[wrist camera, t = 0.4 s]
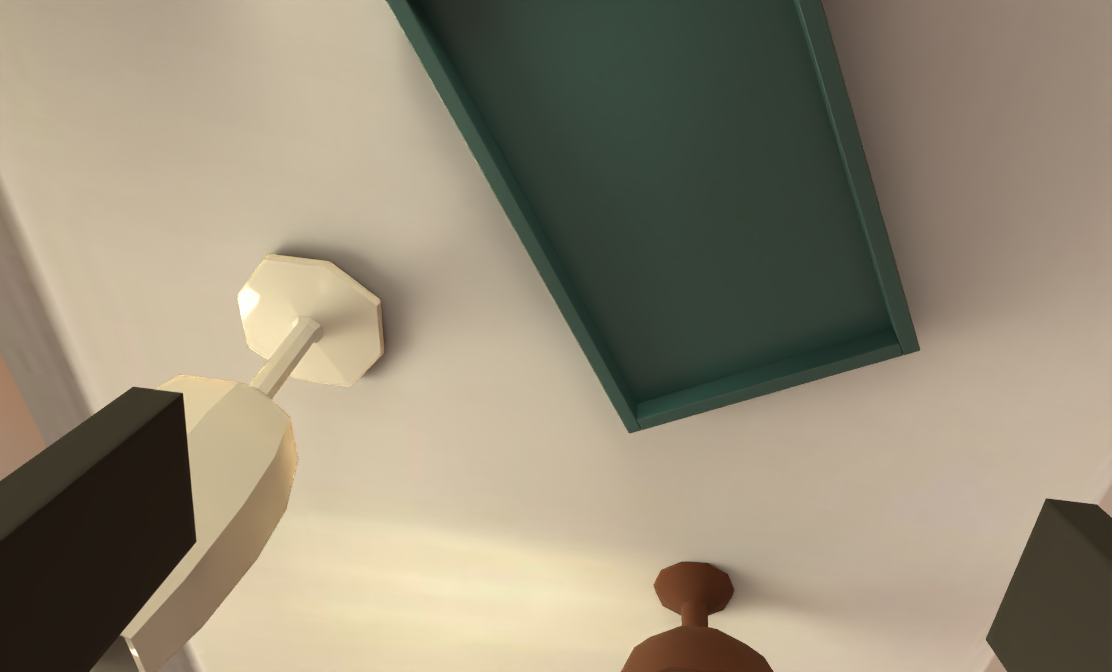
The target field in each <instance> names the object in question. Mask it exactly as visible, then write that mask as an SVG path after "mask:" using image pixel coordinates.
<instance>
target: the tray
mask: <svg viewBox="0 0 1112 672" xmlns="http://www.w3.org/2000/svg"><path fill="white" fill-rule="evenodd" d="M386 2H387V4H388V5H389V7H390V9H391V11H392V13H393V14H394V16H395V18H396V20H397V21H398V23H399V25H400V27H401V29H402V30H403V32H404V34H405V36H406V37H407V39H408V41H409V43H410V45H411V46H412V48H413V50H414V52H415V53H416V55H417V57H418V59H419V61H420V62H421V64H422V66H423V68H424V69H425V71H426V73H427V75H428V77H429V78H430V80H431V82H432V84H433V85H434V87H435V89H436V91H437V93H438V94H439V96H440V98H441V100H442V101H443V103H444V105H445V107H446V109H447V110H448V112H449V114H450V116H451V118H452V119H453V121H454V123H455V125H456V126H457V128H458V130H459V132H460V134H461V135H462V137H463V139H464V141H465V142H466V144H467V146H468V148H469V150H470V151H471V153H472V155H473V157H474V158H475V160H476V162H477V164H478V166H479V167H480V169H481V171H482V173H483V174H484V176H485V178H486V180H487V182H488V183H489V185H490V187H491V189H492V190H493V192H494V194H495V196H496V198H497V199H498V201H499V203H500V205H501V206H502V208H503V210H504V212H505V214H506V215H507V217H508V219H509V221H510V222H511V224H512V226H513V228H514V230H515V231H516V233H517V235H518V237H519V239H520V240H521V242H522V244H523V246H524V247H525V249H526V251H527V253H528V255H529V256H530V258H531V260H532V262H533V263H534V265H535V267H536V269H537V271H538V272H539V274H540V276H541V278H542V279H543V281H544V283H545V285H546V287H547V288H548V290H549V292H550V294H551V295H552V297H553V299H554V301H555V303H556V304H557V306H558V308H559V310H560V311H561V313H562V315H563V317H564V319H565V320H566V322H567V324H568V326H569V327H570V329H571V331H572V333H573V335H574V336H575V338H576V340H577V342H578V343H579V345H580V347H581V349H582V351H583V352H584V354H585V356H586V358H587V360H588V361H589V363H590V365H591V367H592V368H593V370H594V372H595V374H596V376H597V377H598V379H599V381H600V383H601V384H602V386H603V388H604V390H605V392H606V393H607V395H608V397H609V399H610V400H611V402H612V404H613V406H614V408H615V409H616V411H617V413H618V415H619V416H620V418H621V420H622V422H623V424H624V425H625V427H626V429H627V431H628V432H629V433H633V432H636V431H640V430H644V429H647V428H651V427H654V426H658V425H661V424H665V423H668V422H672V421H675V420H679V419H682V418H686V417H689V416H693V415H696V414H699V413H703V412H706V411H710V410H713V409H717V408H720V407H724V406H727V405H731V404H734V403H738V402H741V401H745V400H748V399H752V398H755V397H759V396H762V395H766V394H769V393H773V392H776V391H780V390H783V389H787V388H790V387H794V386H797V385H801V384H804V383H808V382H811V381H815V380H818V379H822V378H825V377H829V376H832V375H836V374H839V373H843V372H846V371H850V370H853V369H857V368H860V367H864V366H867V365H871V364H874V363H878V362H881V361H885V360H888V359H892V358H895V357H899V356H902V355H906V354H909V353H913V352H916V351H919V350H920V347H919V344H918V340H917V337H916V333H915V330H914V326H913V323H912V319H911V316H910V312H909V309H908V305H907V302H906V298H905V294H904V291H903V287H902V284H901V280H900V277H899V273H898V270H897V266H896V263H895V259H894V256H893V252H892V249H891V245H890V242H889V238H888V234H887V231H886V227H885V224H884V220H883V217H882V213H881V210H880V206H879V203H878V199H877V196H876V192H875V189H874V185H873V182H872V178H871V174H870V171H869V167H868V164H867V160H866V157H865V153H864V150H863V146H862V143H861V139H860V136H859V132H858V129H857V125H856V122H855V118H854V114H853V111H852V107H851V104H850V100H849V97H848V93H847V90H846V86H845V83H844V79H843V76H842V72H841V69H840V65H839V62H838V58H837V54H836V51H835V47H834V44H833V40H832V37H831V33H830V30H829V26H828V23H827V19H826V16H825V12H824V9H823V5H822V2H821V0H386Z"/></svg>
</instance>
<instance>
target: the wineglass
mask: <svg viewBox="0 0 1112 672" xmlns="http://www.w3.org/2000/svg"><path fill="white" fill-rule="evenodd" d="M237 298H238V303H239V308H240V312H241V317H242V322H243V326H244V331H245V336H246V340H247V345H248V347H250V348H251V349H253V350H254V351H256V352H257V353H258V354H260V355H261V356H263V357H264V358H266V359H267V360H268V361H267V362H266V363H265V365H264V366H263V367H262V369H261V370H260V371H259V372H258V374H257V375H256V376H255V378H254V379H253V380H252V381H251V383H250V384H249V385H246V384H243V383H240V382H234V381H227V380H219V379H212V378H205V377H197V376H190V375H183V374H180V375H179V376H177V377H175V378H173V379H171V380H170V381H168V382H166V383H164V384H162V385H160V386H159V387H157V388H155V390H163V391H171V392H180V393H183V398H184V409H185V420H186V431H187V442H188V453H189V464H190V475H191V486H192V497H193V508H194V519H195V530H196V541H197V542H196V543H195V544H194V546H193V547H192V548H191V549H190V550H189V552H188V553H187V554H186V555H185V557H184V558H183V559H182V560H181V561H180V563H179V564H178V565H177V566H176V567H175V569H174V570H173V571H172V572H171V573H170V575H169V576H168V577H167V578H166V580H165V581H164V582H163V583H162V584H161V586H160V587H159V588H158V589H157V590H156V592H155V593H154V594H153V595H152V597H151V598H150V599H149V600H148V601H147V603H146V604H145V605H144V606H143V607H142V609H141V610H140V611H139V612H138V614H137V615H136V616H135V617H134V618H133V620H132V621H131V622H130V623H129V624H128V626H127V627H126V628H125V629H124V630H123V632H122V633H121V634H120V635H119V637H118V638H117V639H116V640H115V641H114V643H113V644H112V645H111V646H110V647H109V649H108V650H107V651H106V652H105V654H104V655H103V656H102V657H101V658H100V660H99V661H98V662H97V663H96V664H95V666H94V667H93V668H92V669H91V671H90V672H156V671H157V670H158V669H159V668H160V667H161V666H162V665H164V664H165V663H166V662H167V661H168V660H169V659H170V658H171V657H172V656H173V655H174V654H175V653H176V652H177V651H178V650H179V649H180V648H181V647H182V646H183V645H184V644H185V643H186V642H187V641H188V640H189V639H190V638H191V637H192V636H194V635H195V634H196V633H197V632H198V631H199V630H200V629H201V628H202V627H203V626H204V624H205V623H206V622H207V621H208V619H209V618H210V617H211V616H212V614H213V613H214V612H215V611H216V609H217V608H218V607H219V606H220V604H221V603H222V602H223V601H224V599H225V598H226V597H227V596H228V594H229V593H230V592H231V591H232V590H233V588H234V587H235V586H236V585H237V583H238V582H239V581H240V580H241V578H242V577H243V576H244V575H245V573H246V572H247V571H248V570H249V568H250V567H251V566H252V565H253V563H254V562H255V561H256V560H257V558H258V557H259V555H260V553H261V552H262V550H263V548H264V546H265V545H266V543H267V541H268V540H269V538H270V536H271V535H272V533H273V531H274V529H275V528H276V526H277V524H278V523H279V521H280V519H281V518H282V516H283V514H284V512H285V511H286V508H287V504H288V500H289V496H290V492H291V488H292V484H293V480H294V476H295V472H296V467H297V463H298V455H297V450H296V445H295V439H294V434H293V429H292V423H291V418H290V416H289V415H288V414H287V413H286V412H285V411H284V410H282V409H281V408H280V407H279V406H278V405H277V404H276V403H275V402H274V401H273V400H272V398H273V397H274V395H275V394H276V393H277V391H278V390H279V389H280V387H281V386H282V384H283V383H284V382H285V380H286V379H287V378H288V376H289V375H290V376H292V377H293V378H295V379H296V380H303V381H310V382H317V383H324V384H332V385H339V386H346V387H351V386H353V385H354V384H355V383H356V382H357V381H358V380H359V378H360V377H361V376H362V375H363V374H364V373H365V372H366V371H367V370H368V369H369V368H370V367H371V366H372V365H373V364H374V363H375V362H376V361H377V360H378V359H379V358H380V357H381V356H382V354H383V353H384V336H383V324H382V312H381V300H380V299H379V298H378V297H376V296H375V295H374V294H372V293H371V292H370V291H368V290H367V289H366V288H364V287H363V286H362V285H360V284H359V283H358V282H357V281H355V280H354V279H353V278H351V277H350V276H349V275H347V274H346V273H345V272H343V271H342V270H341V269H339V268H338V267H337V266H335V265H334V264H333V263H331V262H330V261H323V260H315V259H307V258H299V257H291V256H283V255H275V254H269V255H266V257H265V258H264V260H263V261H262V262H261V264H260V265H259V266H258V268H257V269H256V270H255V272H254V273H253V275H252V276H251V277H250V279H249V280H248V281H247V283H246V284H245V286H244V287H243V288H242V290H241V291H240V292H239V294H238V297H237Z"/></svg>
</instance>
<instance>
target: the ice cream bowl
mask: <svg viewBox="0 0 1112 672" xmlns="http://www.w3.org/2000/svg"><path fill="white" fill-rule="evenodd" d="M654 588H655V591H656V593H657V595H658V597H659V599H660V601H661V603H662V605H663V606H664V607H666V608H668V609H670V610H672V611H674V612H676V613H678V614H679V615H681V616H682V626H680V627H677V628H674V629H671V630H669V631H666V632H663V633H660V634H658V635H655V636H652V637H650V638H648V639H646V640H645V641H643V642H642V643H640V644H639V645H637V646H636V647H634V649H633V651H632V653H631V655H630V656H629V658H628V660H627V662H626V663H625V665H624V667H623V669H622V671H621V672H773V670H772V669H771V667H770V666H769V664H768V662H767V661H766V659H765V658H764V657H763V656H762V655H760V654H759V653H758V652H756V651H755V650H753V649H752V648H751V647H749V646H748V645H746V644H744V643H743V642H741V641H739V640H737V639H735V638H733V637H731V636H729V635H727V634H725V633H723V632H721V631H719V630H718V629H714V628H709V627H708V615H711V614H714V613H716V612H719V611H722V610H724V609H725V607H726V605H727V604H728V602H729V601H730V599H731V598H732V596H733V592H734V588H733V586H732V583H731V581H730V579H729V576H728V574H727V573H725V572H723V571H721V570H719V569H717V568H715V567H714V566H712V565H710V564H708V563H694V562H680V563H678V564H676V565H673V566H671V567H668V568H666V569H663V570H661V572H660V574H659V576H658V578H657V579H656V581H655V583H654Z"/></svg>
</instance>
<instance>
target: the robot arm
mask: <svg viewBox="0 0 1112 672" xmlns="http://www.w3.org/2000/svg"><path fill="white" fill-rule="evenodd" d="M196 542H197V541H196V530H195V519H194V508H193V497H192V486H191V475H190V464H189V453H188V442H187V431H186V420H185V409H184V398H183V393H180V392H171V391H163V390H155V389H147V388H139V387H132V388H131V389H129V390H128V391H127V392H125V393H124V394H122V395H121V396H120V397H118V398H117V399H115V400H114V401H112V402H111V403H110V404H108V405H107V406H105V407H104V408H103V409H101V410H100V411H98V412H97V413H96V414H94V415H93V416H91V417H90V418H89V419H87V420H86V421H84V422H83V423H81V424H80V425H79V426H77V427H76V428H74V429H73V430H72V431H70V432H69V433H67V434H66V435H65V436H63V437H62V438H60V439H59V440H58V441H56V442H55V443H53V444H52V445H50V446H49V447H48V448H46V449H45V450H43V451H42V452H41V453H39V454H38V455H36V456H35V457H34V458H32V459H31V460H29V461H28V462H27V463H25V464H24V465H22V466H21V467H20V468H18V469H17V470H15V471H14V472H13V473H11V474H10V475H8V476H7V477H5V478H4V479H3V480H1V481H0V672H90V671H91V669H92V668H93V667H94V666H95V664H96V663H97V662H98V661H99V660H100V658H101V657H102V656H103V655H104V654H105V652H106V651H107V650H108V649H109V647H110V646H111V645H112V644H113V643H114V641H115V640H116V639H117V638H118V637H119V635H120V634H121V633H122V632H123V630H124V629H125V628H126V627H127V626H128V624H129V623H130V622H131V621H132V620H133V618H134V617H135V616H136V615H137V614H138V612H139V611H140V610H141V609H142V607H143V606H144V605H145V604H146V603H147V601H148V600H149V599H150V598H151V597H152V595H153V594H154V593H155V592H156V590H157V589H158V588H159V587H160V586H161V584H162V583H163V582H164V581H165V580H166V578H167V577H168V576H169V575H170V573H171V572H172V571H173V570H174V569H175V567H176V566H177V565H178V564H179V563H180V561H181V560H182V559H183V558H184V557H185V555H186V554H187V553H188V552H189V550H190V549H191V548H192V547H193V546H194V544H195V543H196ZM986 641H987V642H988V644H989V645H990V647H991V648H992V650H993V651H994V653H995V654H996V656H997V657H998V658H999V660H1000V661H1001V663H1002V664H1003V666H1004V667H1005V669H1006V670H1007V672H1112V518H1111V517H1110V516H1109V515H1108V514H1107V513H1106V512H1104V511H1103V510H1102V509H1101V508H1100V507H1099V506H1098V505H1095V504H1087V503H1079V502H1071V501H1062V500H1054V499H1046V500H1045V502H1044V505H1043V507H1042V509H1041V512H1040V514H1039V516H1038V519H1037V521H1036V523H1035V526H1034V528H1033V530H1032V533H1031V535H1030V537H1029V540H1028V542H1027V544H1026V547H1025V549H1024V551H1023V554H1022V556H1021V558H1020V561H1019V563H1018V565H1017V568H1016V570H1015V572H1014V575H1013V577H1012V579H1011V582H1010V584H1009V586H1008V589H1007V591H1006V593H1005V596H1004V598H1003V600H1002V603H1001V605H1000V607H999V610H998V612H997V614H996V617H995V619H994V621H993V624H992V626H991V628H990V631H989V633H988V635H987V637H986Z"/></svg>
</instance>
